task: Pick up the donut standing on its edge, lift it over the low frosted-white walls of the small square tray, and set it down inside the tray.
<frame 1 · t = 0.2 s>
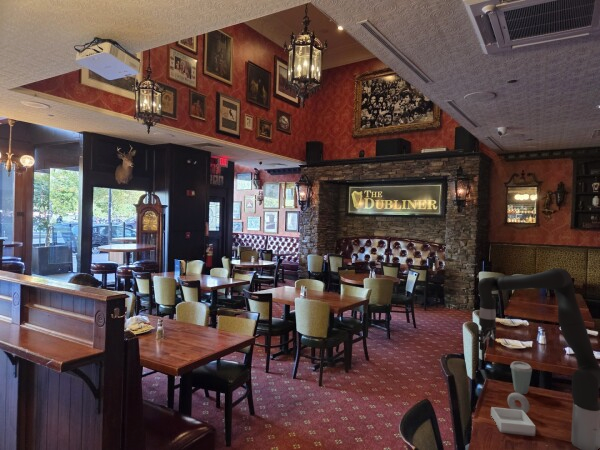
hand: (486, 348, 199), 28 cm above the table, tool pointing down, fingers open, 8 cm apart
donut: (517, 413, 190), on the table
disposable coffee cup: (520, 391, 214), on the table
walled tray: (511, 425, 179), on the table
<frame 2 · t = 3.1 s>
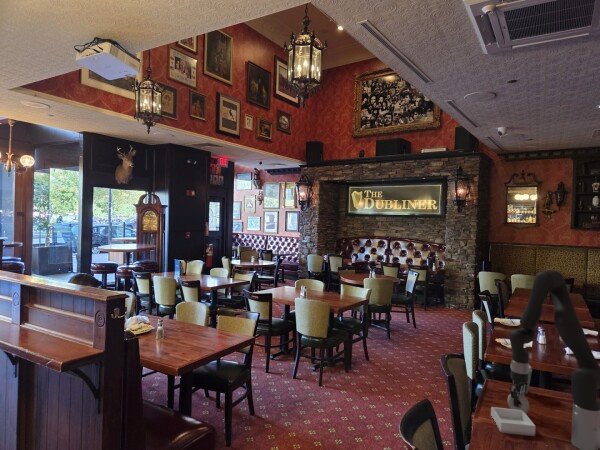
hand: (518, 404, 190), 4 cm above the table, tool pointing down, fingers closed on donut, 3 cm apart
donut: (517, 413, 190), on the table, touching gripper
everything else where it was.
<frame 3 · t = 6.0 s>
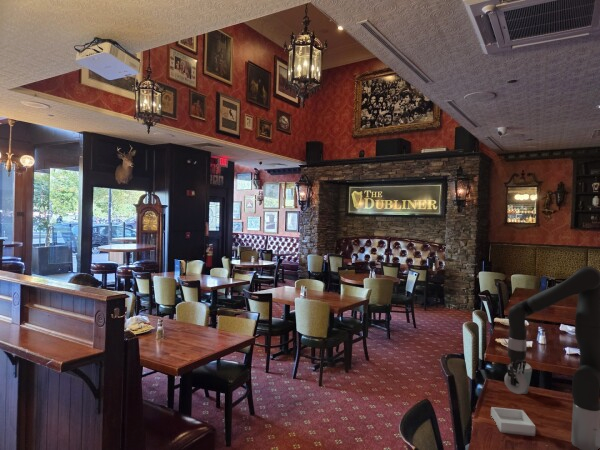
hand: (515, 384, 181), 18 cm above the table, tool pointing down, fingers closed on donut, 3 cm apart
donut: (515, 393, 181), point 14 cm above the table, touching gripper
everything else where it was.
when the fingers open (7 cm above the table, at t = 8.9 s): donut stays where it is, resting on walled tray.
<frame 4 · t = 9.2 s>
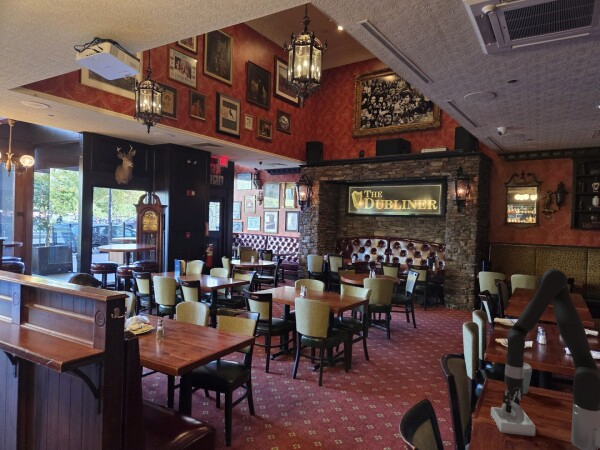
hand: (512, 410, 179), 7 cm above the table, tool pointing down, fingers open, 7 cm apart
donut: (512, 424, 179), point 1 cm above the table, touching walled tray
everything else where it was.
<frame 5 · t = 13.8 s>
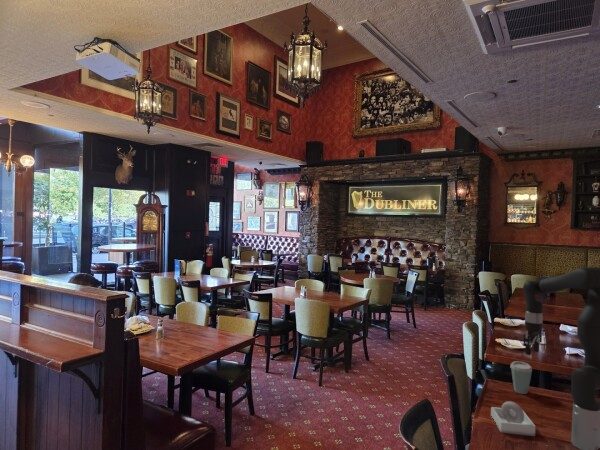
hand: (532, 353, 194), 28 cm above the table, tool pointing down, fingers open, 8 cm apart
nothing on the table moved.
at the end: donut 0.1 cm from the walled tray (horizontally); donut point 0.8 cm above the table; the gripper is holding nothing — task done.
